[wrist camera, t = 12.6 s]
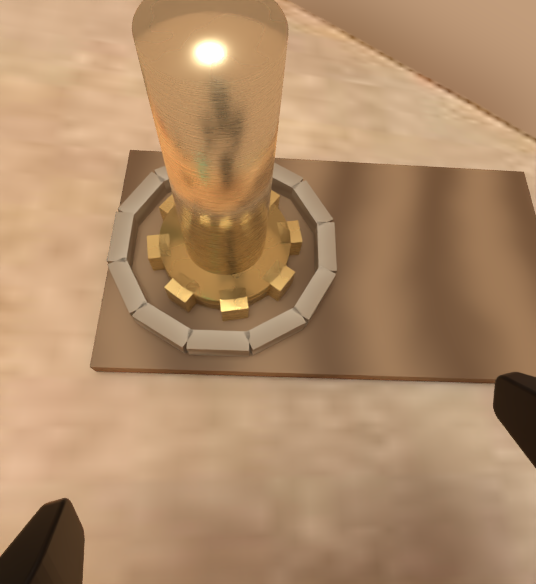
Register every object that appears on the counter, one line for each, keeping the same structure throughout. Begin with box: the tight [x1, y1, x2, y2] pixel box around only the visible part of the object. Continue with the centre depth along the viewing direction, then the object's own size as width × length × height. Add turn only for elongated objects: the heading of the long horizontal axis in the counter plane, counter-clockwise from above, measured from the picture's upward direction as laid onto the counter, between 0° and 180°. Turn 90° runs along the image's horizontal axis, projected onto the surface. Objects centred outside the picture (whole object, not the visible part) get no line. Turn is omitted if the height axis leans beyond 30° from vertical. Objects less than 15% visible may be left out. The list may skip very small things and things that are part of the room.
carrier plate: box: [90, 150, 536, 383], centre depth 25 cm, size 26×14×2 cm, turn 89°
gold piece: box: [132, 0, 303, 321], centre depth 18 cm, size 8×8×14 cm
